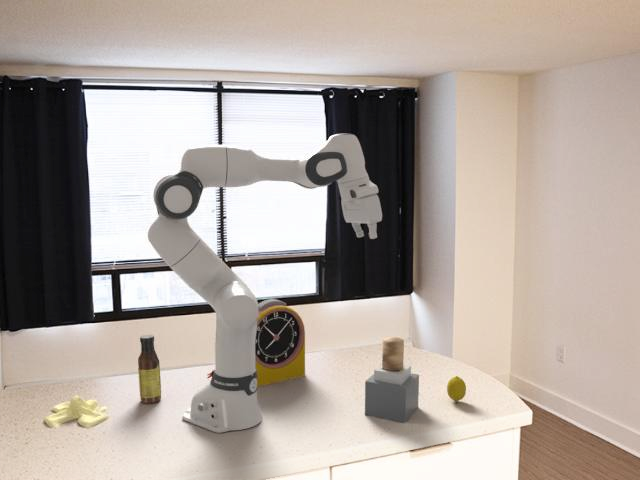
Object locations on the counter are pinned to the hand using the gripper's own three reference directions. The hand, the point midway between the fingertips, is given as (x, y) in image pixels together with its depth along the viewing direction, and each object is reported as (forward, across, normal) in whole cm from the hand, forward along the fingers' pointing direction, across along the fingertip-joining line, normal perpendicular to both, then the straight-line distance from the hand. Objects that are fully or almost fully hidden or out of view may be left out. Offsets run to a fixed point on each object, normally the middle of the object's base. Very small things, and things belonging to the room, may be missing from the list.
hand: (367, 237), depth 174 cm
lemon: (+56, +1, +15) cm, 58 cm away
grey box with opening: (+51, +1, -6) cm, 51 cm away
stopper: (+41, +2, -3) cm, 41 cm away
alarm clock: (+42, -36, -30) cm, 63 cm away
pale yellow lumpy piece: (+30, -26, -88) cm, 97 cm away
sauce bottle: (+33, -29, -69) cm, 82 cm away
